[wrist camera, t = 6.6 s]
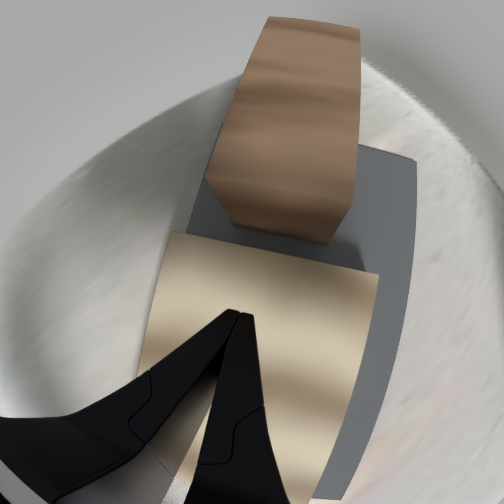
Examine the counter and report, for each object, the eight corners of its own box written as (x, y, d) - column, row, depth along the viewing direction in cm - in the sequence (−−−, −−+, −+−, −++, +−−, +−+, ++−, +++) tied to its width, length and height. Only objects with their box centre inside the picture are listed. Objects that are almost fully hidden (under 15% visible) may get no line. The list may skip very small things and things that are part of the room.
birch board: (303, 492, 14) (305, 509, 12) (140, 446, 16) (126, 457, 13) (367, 279, 16) (379, 274, 14) (183, 239, 18) (171, 230, 16)
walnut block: (352, 204, 10) (359, 29, 13) (204, 176, 11) (268, 16, 14) (326, 245, 17) (345, 94, 20) (233, 226, 18) (274, 82, 20)
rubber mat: (340, 497, 13) (341, 500, 13) (141, 449, 16) (139, 451, 15) (414, 163, 18) (416, 161, 18) (223, 124, 20) (222, 122, 20)
